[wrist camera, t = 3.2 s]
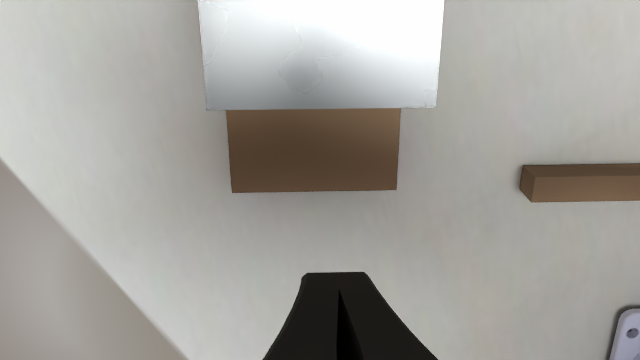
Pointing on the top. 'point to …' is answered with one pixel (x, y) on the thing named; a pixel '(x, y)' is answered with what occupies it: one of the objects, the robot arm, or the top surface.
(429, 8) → the junction box
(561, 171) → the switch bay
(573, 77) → the top surface
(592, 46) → the top surface
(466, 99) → the top surface
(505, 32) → the top surface
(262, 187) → the mounting board
